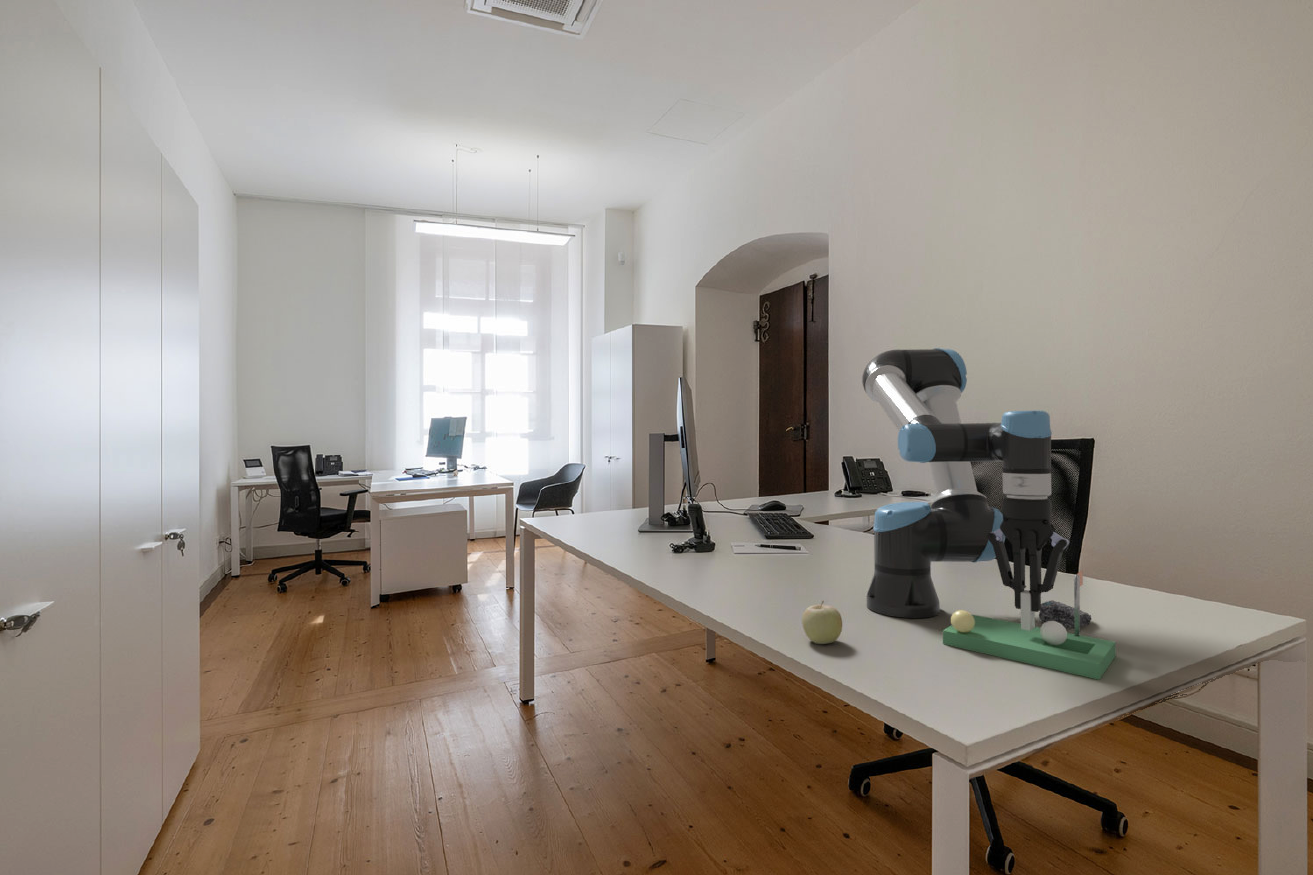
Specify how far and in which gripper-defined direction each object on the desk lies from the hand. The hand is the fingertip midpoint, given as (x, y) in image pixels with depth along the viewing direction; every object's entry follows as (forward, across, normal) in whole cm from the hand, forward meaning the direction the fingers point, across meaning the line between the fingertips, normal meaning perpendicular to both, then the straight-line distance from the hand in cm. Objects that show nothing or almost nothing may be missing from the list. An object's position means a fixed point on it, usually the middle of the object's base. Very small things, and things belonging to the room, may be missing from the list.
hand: (1027, 628), depth 111 cm
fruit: (+4, -29, -21) cm, 36 cm away
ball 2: (0, +4, 0) cm, 4 cm away
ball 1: (0, -9, -5) cm, 11 cm away
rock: (+4, 0, +24) cm, 24 cm away
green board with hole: (+4, 0, 0) cm, 4 cm away
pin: (+2, +6, +8) cm, 10 cm away
